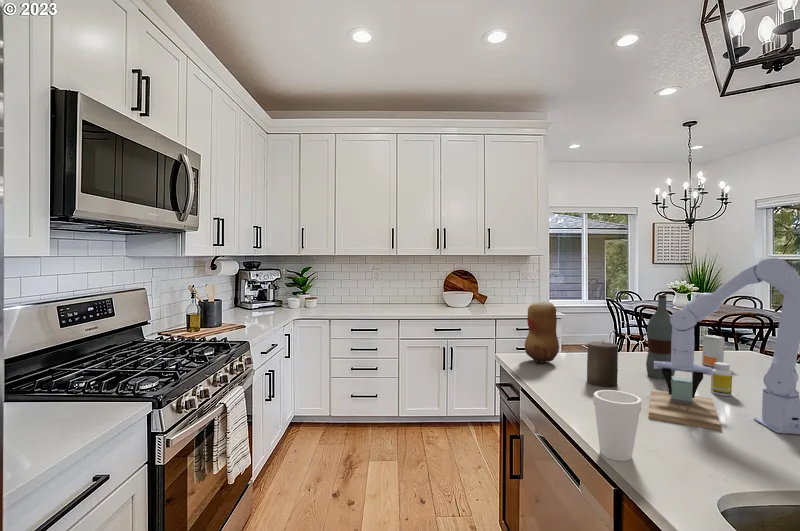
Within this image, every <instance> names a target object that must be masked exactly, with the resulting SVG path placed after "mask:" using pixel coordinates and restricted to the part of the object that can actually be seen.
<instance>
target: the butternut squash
mask: <svg viewBox="0 0 800 531" xmlns="http://www.w3.org/2000/svg"><path fill="white" fill-rule="evenodd" d="M557 321H558V320H557V308H556V306H555V305H554V304H553V303H552V302H550V301H540V302H539V301H538V302H535V303H534V302H533V303H531V304H530V305H529V306H528V308H527V326H528V334H527V336H526V337H525V341H524V351H525V353H526V355H527V356H528V357H530V358H531V359H532V360H533V361H535V362H537V363H540V364H541V363H543V364H544V363H549V362H552V361H553V360H554V359H556V357H557V355H558V353H559V350H560V344H559V338H558V336H557V325H558V324H557Z"/></svg>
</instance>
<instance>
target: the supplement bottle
mask: <svg viewBox="0 0 800 531" xmlns="http://www.w3.org/2000/svg"><path fill="white" fill-rule="evenodd" d="M730 368H731V365H730V364H729V363H727V362H723V363H722V362H715V363H714V367H713V368H712V376H711V375H710V392H711V393H712V394H715V395H717V396H724V397H727V396H732V392H733V391H732V388H733V386H732V385H733V373H732V371H730Z"/></svg>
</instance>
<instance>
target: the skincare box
mask: <svg viewBox="0 0 800 531" xmlns="http://www.w3.org/2000/svg"><path fill="white" fill-rule="evenodd" d="M724 357H725V337H723V336H718V335H712V334H705V335H703V336H702V358H701V359H702V360H701V361H702V362H701V364H702V365H705V366H707V367H711V368H715V367H714V363H715V362H722V363H725V362H724V359H725V358H724Z"/></svg>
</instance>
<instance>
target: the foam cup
mask: <svg viewBox="0 0 800 531" xmlns="http://www.w3.org/2000/svg"><path fill="white" fill-rule="evenodd" d="M593 405H594V412H595V418H596V419H595V420H596V427H597V428H596V429H597V437H598V447H599V452H600V454H601V455H602V456H604V457H605V458H608V459H610V460H613V461H619V462H627V461H631V459H632V458H633V453H634V449H635V448H634V447H635V441H636V438H637V436H636V435H637V430H638V425H639V419H640V412H641V411H642V399H641V398H640V397H639V396H637V395H636V394H633V393H630V392H626V391H621V390H615V389H614V390H613V389H601V390H596V391H595V392H594V393H593Z"/></svg>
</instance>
